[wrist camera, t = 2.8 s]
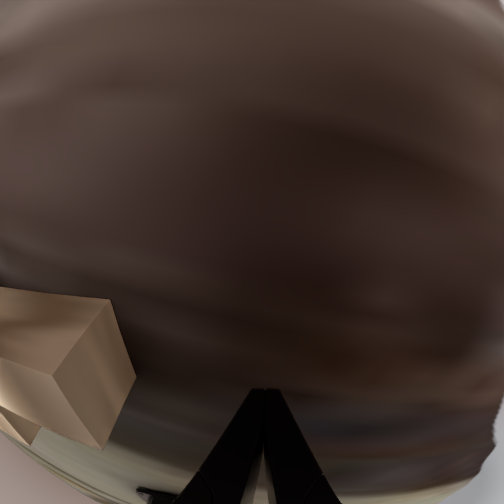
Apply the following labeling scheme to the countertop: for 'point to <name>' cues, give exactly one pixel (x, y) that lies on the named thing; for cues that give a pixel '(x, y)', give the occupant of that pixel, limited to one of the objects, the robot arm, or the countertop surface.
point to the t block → (61, 366)
